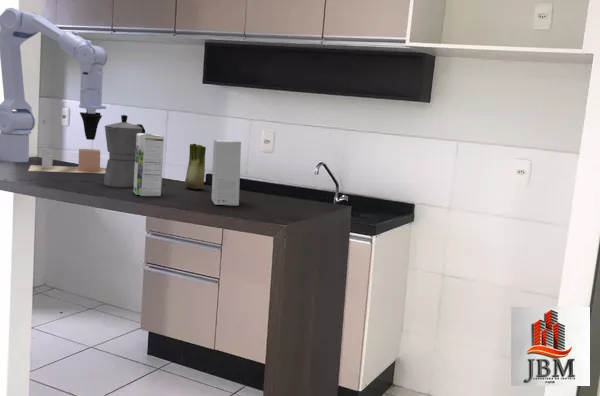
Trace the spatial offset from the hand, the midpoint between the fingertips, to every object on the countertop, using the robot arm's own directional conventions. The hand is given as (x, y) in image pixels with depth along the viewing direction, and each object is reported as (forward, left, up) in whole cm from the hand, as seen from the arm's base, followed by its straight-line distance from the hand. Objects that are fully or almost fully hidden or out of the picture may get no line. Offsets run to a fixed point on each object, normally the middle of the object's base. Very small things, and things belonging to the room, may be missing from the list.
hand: (89, 138), depth 174 cm
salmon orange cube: (0, 0, -9) cm, 9 cm away
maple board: (-5, -3, -10) cm, 11 cm away
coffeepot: (+17, -11, -10) cm, 23 cm away
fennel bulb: (+34, -5, -10) cm, 36 cm away
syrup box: (+29, -21, -10) cm, 37 cm away
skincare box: (+48, -19, -10) cm, 53 cm away
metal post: (-9, -6, -9) cm, 14 cm away
